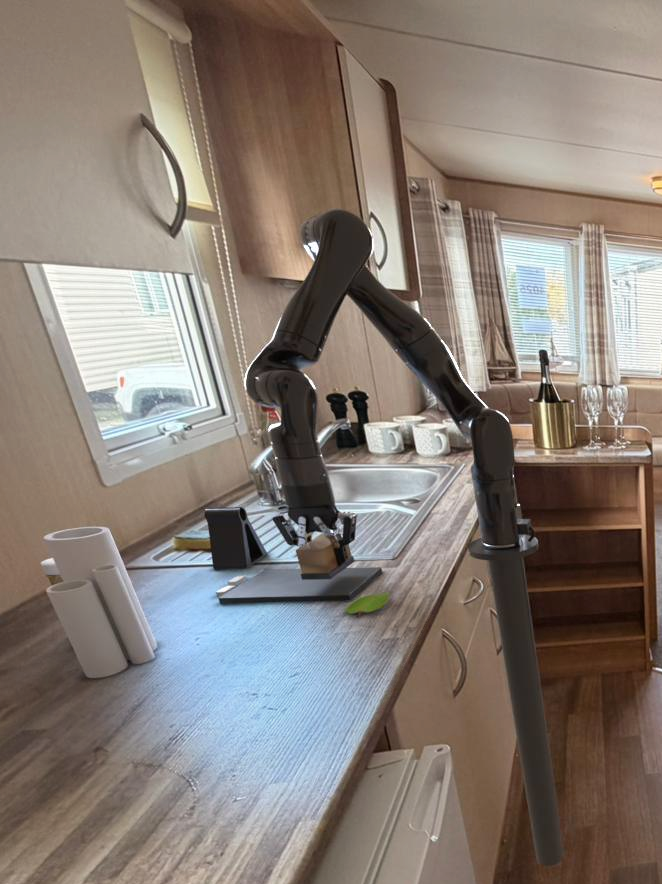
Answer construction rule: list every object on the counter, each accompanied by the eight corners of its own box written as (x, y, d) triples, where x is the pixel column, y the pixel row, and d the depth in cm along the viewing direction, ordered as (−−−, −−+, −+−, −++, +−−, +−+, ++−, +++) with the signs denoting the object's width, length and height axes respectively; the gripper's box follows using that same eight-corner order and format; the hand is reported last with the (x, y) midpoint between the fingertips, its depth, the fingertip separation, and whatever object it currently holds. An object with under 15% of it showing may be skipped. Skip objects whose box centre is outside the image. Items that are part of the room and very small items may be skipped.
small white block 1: (226, 585, 124) (227, 590, 124) (215, 592, 121) (217, 596, 122) (234, 585, 124) (236, 590, 125) (224, 591, 121) (225, 596, 122)
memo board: (382, 572, 136) (381, 567, 136) (350, 600, 123) (348, 595, 122) (266, 574, 132) (265, 569, 132) (220, 603, 119) (218, 598, 118)
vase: (106, 648, 102) (52, 529, 94) (165, 639, 106) (119, 524, 98) (80, 681, 94) (19, 553, 86) (146, 669, 97) (94, 546, 89)
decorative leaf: (336, 611, 119) (334, 606, 119) (382, 593, 126) (381, 589, 126) (360, 618, 116) (359, 613, 115) (406, 599, 123) (405, 595, 122)
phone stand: (247, 568, 135) (229, 513, 130) (213, 569, 133) (194, 514, 128) (267, 554, 143) (251, 502, 138) (236, 555, 141) (218, 502, 136)
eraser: (354, 561, 132) (347, 533, 129) (330, 579, 123) (323, 550, 120) (327, 561, 131) (320, 534, 129) (301, 579, 122) (293, 550, 120)
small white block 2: (237, 575, 129) (238, 580, 129) (227, 581, 126) (228, 586, 126) (245, 575, 129) (247, 580, 129) (235, 581, 126) (237, 586, 126)
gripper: (356, 475, 124) (375, 557, 131) (273, 474, 122) (297, 558, 129) (337, 484, 117) (358, 570, 124) (250, 484, 115) (276, 571, 122)
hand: (327, 563), depth 126 cm, fingers closed on eraser, 4 cm apart
